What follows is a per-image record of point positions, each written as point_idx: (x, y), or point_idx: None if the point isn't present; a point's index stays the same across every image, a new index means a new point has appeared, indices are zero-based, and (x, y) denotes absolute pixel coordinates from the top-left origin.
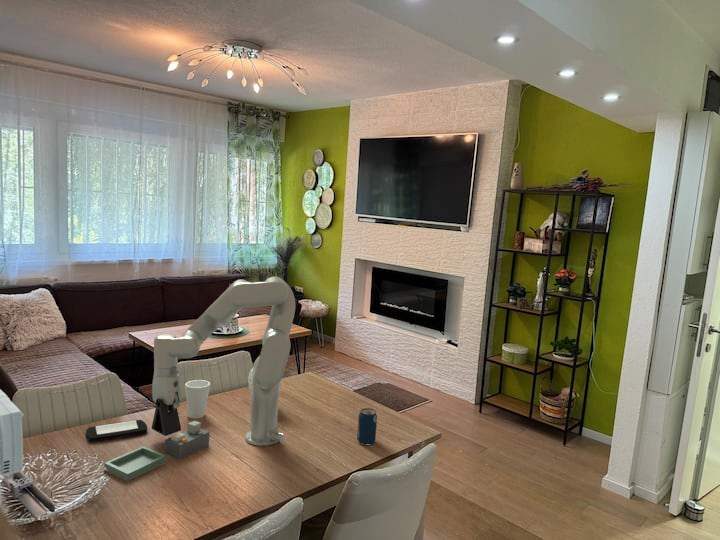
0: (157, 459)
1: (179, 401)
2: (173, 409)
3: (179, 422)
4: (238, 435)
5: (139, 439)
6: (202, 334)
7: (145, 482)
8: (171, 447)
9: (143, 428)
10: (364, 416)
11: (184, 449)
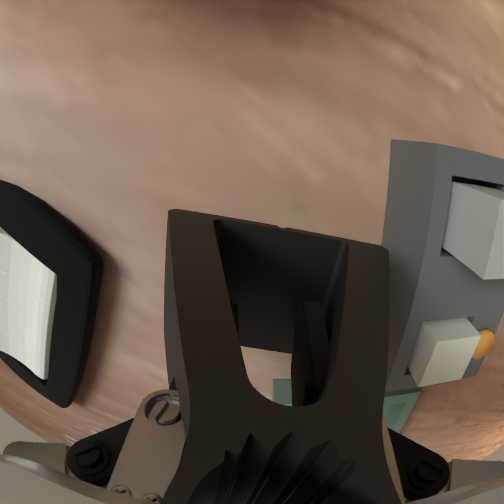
0: (405, 418)
1: (500, 485)
2: (397, 447)
3: (388, 277)
4: (496, 8)
5: (138, 311)
6: None
7: (412, 439)
8: None
9: (74, 266)
10: None
11: None
